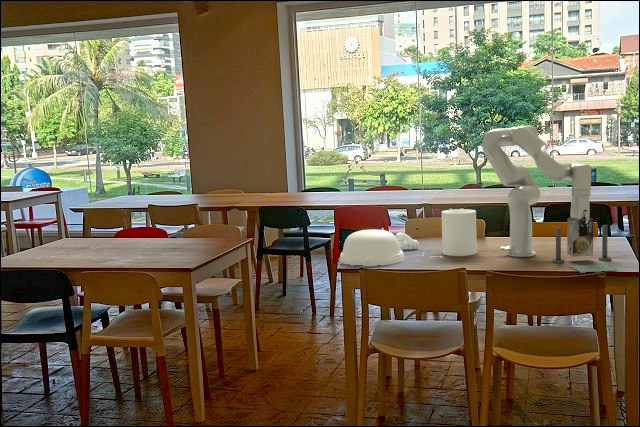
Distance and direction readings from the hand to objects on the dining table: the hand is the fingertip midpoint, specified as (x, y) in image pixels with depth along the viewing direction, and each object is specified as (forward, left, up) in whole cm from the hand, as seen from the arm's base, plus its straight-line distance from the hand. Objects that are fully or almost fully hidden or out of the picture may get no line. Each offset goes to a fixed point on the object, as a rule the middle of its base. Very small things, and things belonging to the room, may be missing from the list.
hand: (580, 233), depth 293 cm
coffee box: (0, 0, -9) cm, 9 cm away
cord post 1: (-10, 0, -12) cm, 15 cm away
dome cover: (-88, +26, -12) cm, 92 cm away
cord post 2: (+10, 0, -12) cm, 16 cm away
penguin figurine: (-69, +48, -12) cm, 84 cm away
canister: (-46, +32, -12) cm, 57 cm away
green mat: (-2, -17, -12) cm, 21 cm away
